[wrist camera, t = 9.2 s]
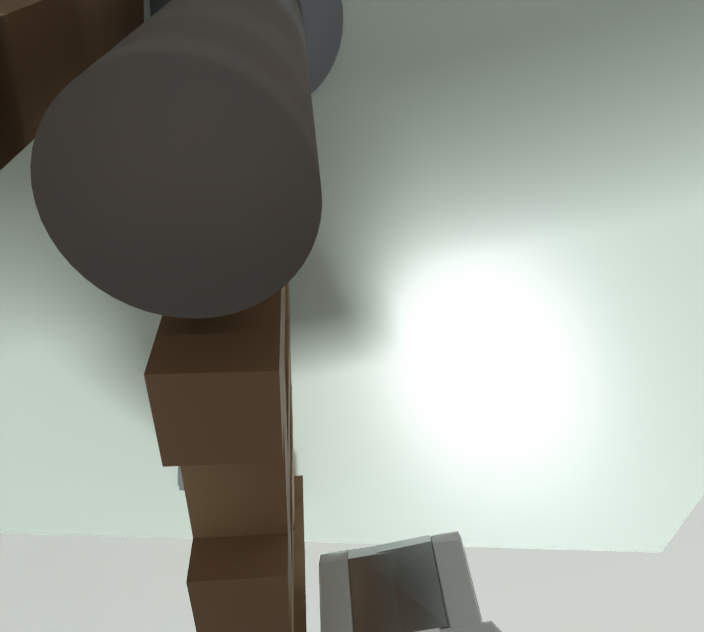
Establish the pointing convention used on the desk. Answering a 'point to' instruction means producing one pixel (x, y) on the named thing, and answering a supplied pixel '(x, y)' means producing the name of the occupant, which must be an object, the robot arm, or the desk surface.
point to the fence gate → (234, 463)
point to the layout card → (428, 294)
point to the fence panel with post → (166, 144)
